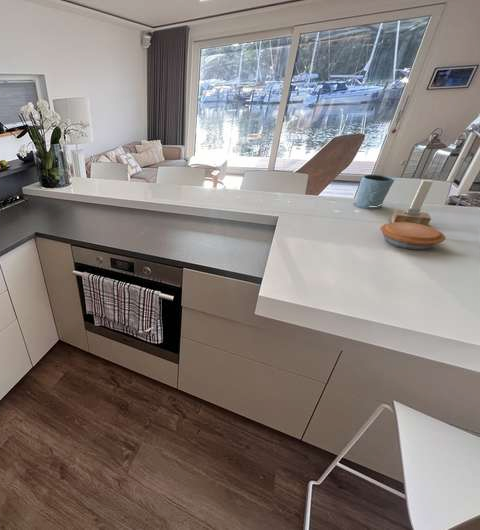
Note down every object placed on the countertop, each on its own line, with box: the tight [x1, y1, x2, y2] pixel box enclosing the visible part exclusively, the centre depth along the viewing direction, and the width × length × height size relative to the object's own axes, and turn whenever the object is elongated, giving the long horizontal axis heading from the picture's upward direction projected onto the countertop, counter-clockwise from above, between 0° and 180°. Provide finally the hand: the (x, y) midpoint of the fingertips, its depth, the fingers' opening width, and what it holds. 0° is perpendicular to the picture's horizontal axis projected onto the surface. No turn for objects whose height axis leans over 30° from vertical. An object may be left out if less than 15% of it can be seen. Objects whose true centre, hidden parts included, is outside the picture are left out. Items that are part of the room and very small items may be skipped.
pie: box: [379, 222, 447, 250], centre depth 93 cm, size 15×16×5 cm
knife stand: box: [390, 209, 432, 226], centre depth 104 cm, size 9×6×4 cm, turn 56°
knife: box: [407, 179, 434, 215], centre depth 101 cm, size 3×2×16 cm, turn 56°
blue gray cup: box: [355, 174, 396, 210], centre depth 120 cm, size 10×10×12 cm
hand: (479, 137), depth 83 cm, fingers open, 8 cm apart
